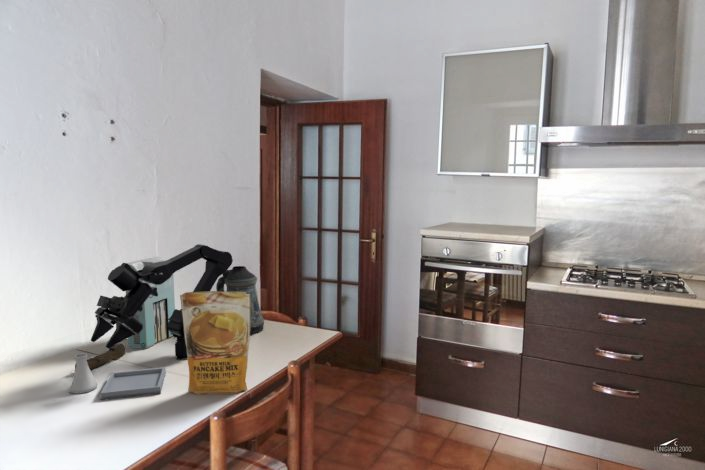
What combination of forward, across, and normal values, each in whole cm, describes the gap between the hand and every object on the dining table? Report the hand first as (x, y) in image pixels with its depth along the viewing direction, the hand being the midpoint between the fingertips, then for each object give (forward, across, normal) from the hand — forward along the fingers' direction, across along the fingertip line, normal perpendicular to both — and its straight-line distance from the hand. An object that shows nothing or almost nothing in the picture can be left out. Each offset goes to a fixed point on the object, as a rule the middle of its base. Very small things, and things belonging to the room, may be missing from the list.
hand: (99, 344), depth 146 cm
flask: (+12, 0, +5) cm, 13 cm away
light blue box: (-13, -24, +29) cm, 40 cm away
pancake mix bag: (-4, +31, +21) cm, 38 cm away
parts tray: (+5, +10, +12) cm, 16 cm away
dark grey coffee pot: (-33, -9, +49) cm, 60 cm away
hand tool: (+3, -16, +14) cm, 21 cm away
